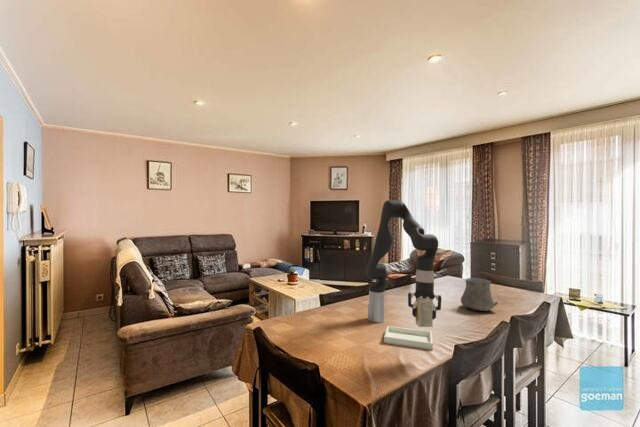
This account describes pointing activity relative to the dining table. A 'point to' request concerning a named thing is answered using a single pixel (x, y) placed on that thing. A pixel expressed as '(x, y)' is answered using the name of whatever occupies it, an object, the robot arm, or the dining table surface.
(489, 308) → the vessel
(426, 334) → the tray
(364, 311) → the dining table surface
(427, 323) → the skincare box
